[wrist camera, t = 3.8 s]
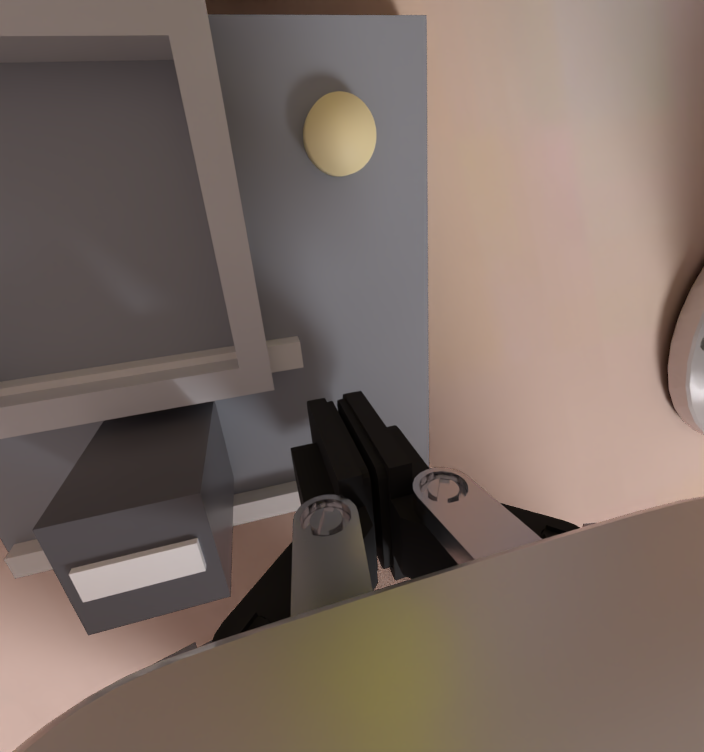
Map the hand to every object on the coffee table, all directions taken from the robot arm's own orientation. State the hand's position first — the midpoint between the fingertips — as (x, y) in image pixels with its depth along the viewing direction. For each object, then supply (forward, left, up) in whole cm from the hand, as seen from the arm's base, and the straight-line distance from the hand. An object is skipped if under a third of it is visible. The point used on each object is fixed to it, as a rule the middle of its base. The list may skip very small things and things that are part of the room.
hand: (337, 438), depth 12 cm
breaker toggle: (+5, 0, -1) cm, 5 cm away
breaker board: (+3, -4, -3) cm, 6 cm away
